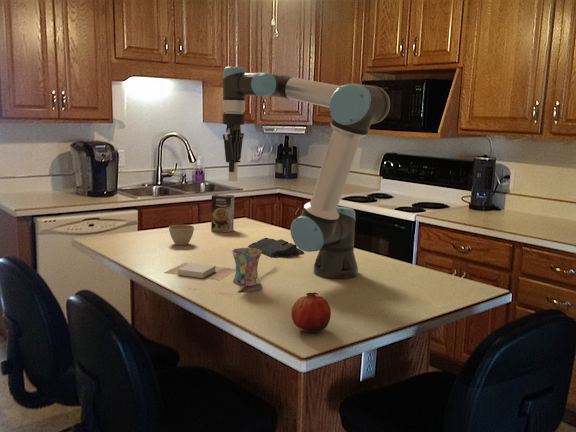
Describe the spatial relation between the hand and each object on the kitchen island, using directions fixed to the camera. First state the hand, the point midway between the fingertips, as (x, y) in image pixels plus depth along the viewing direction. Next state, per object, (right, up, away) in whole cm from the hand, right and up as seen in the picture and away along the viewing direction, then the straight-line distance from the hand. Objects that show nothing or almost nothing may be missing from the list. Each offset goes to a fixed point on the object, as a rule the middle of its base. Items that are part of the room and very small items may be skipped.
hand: (232, 181), depth 208 cm
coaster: (+6, -34, -24) cm, 42 cm away
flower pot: (-24, -24, +31) cm, 45 cm away
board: (-9, -32, -13) cm, 36 cm away
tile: (-9, -29, -12) cm, 33 cm away
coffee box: (-10, -19, +60) cm, 63 cm away
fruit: (+25, -41, -59) cm, 76 cm away
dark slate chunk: (+14, -26, +25) cm, 39 cm away
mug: (+6, -34, -24) cm, 42 cm away
